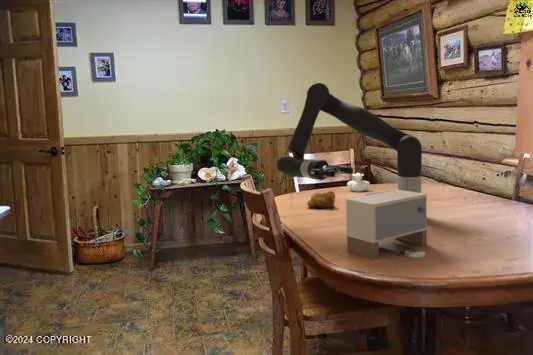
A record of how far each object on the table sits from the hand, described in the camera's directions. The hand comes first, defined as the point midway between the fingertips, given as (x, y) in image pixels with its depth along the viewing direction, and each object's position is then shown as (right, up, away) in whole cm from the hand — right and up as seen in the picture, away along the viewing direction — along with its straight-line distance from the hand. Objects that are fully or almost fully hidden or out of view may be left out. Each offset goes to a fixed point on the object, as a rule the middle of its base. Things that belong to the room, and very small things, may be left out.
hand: (343, 172), depth 180 cm
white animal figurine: (+22, -9, +93) cm, 96 cm away
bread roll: (-2, -16, +56) cm, 59 cm away
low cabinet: (+12, -25, -14) cm, 31 cm away
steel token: (+18, -26, -23) cm, 40 cm away
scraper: (+11, -25, -12) cm, 30 cm away
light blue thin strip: (+34, -13, +70) cm, 79 cm away
